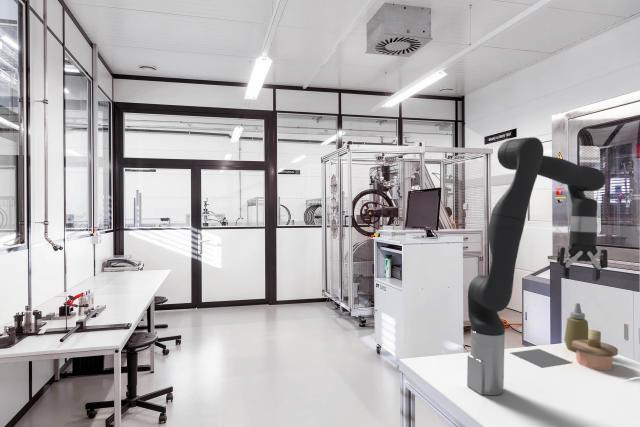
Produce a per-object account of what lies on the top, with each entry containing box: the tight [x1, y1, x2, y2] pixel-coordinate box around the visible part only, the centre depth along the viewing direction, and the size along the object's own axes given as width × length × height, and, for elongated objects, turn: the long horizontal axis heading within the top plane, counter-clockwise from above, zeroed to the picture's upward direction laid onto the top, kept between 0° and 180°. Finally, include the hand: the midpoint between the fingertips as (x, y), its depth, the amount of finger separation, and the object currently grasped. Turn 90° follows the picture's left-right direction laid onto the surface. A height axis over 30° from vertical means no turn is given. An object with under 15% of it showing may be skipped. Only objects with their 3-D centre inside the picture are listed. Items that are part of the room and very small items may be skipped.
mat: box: [509, 348, 573, 369], centre depth 143 cm, size 14×14×1 cm
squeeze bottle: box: [563, 302, 589, 353], centre depth 151 cm, size 8×8×18 cm
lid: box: [572, 329, 619, 357], centre depth 137 cm, size 13×13×6 cm
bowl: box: [575, 350, 614, 371], centre depth 138 cm, size 10×10×6 cm
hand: (580, 279), depth 132 cm, fingers open, 8 cm apart
